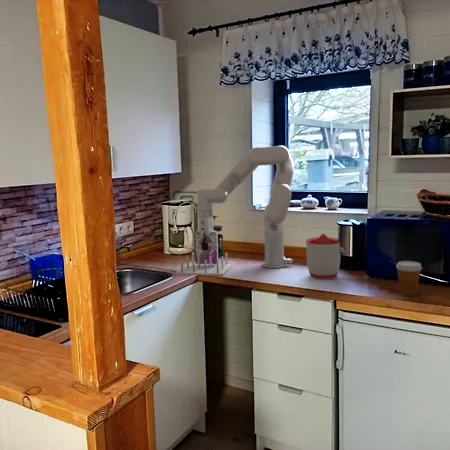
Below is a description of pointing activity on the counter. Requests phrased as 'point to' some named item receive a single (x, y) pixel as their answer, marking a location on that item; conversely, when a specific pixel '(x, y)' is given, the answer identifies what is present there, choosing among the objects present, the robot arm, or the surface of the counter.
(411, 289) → the disposable coffee cup
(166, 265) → the counter surface
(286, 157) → the robot arm
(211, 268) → the dish rack
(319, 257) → the citrus juicer
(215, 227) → the french press
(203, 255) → the candy bar box
